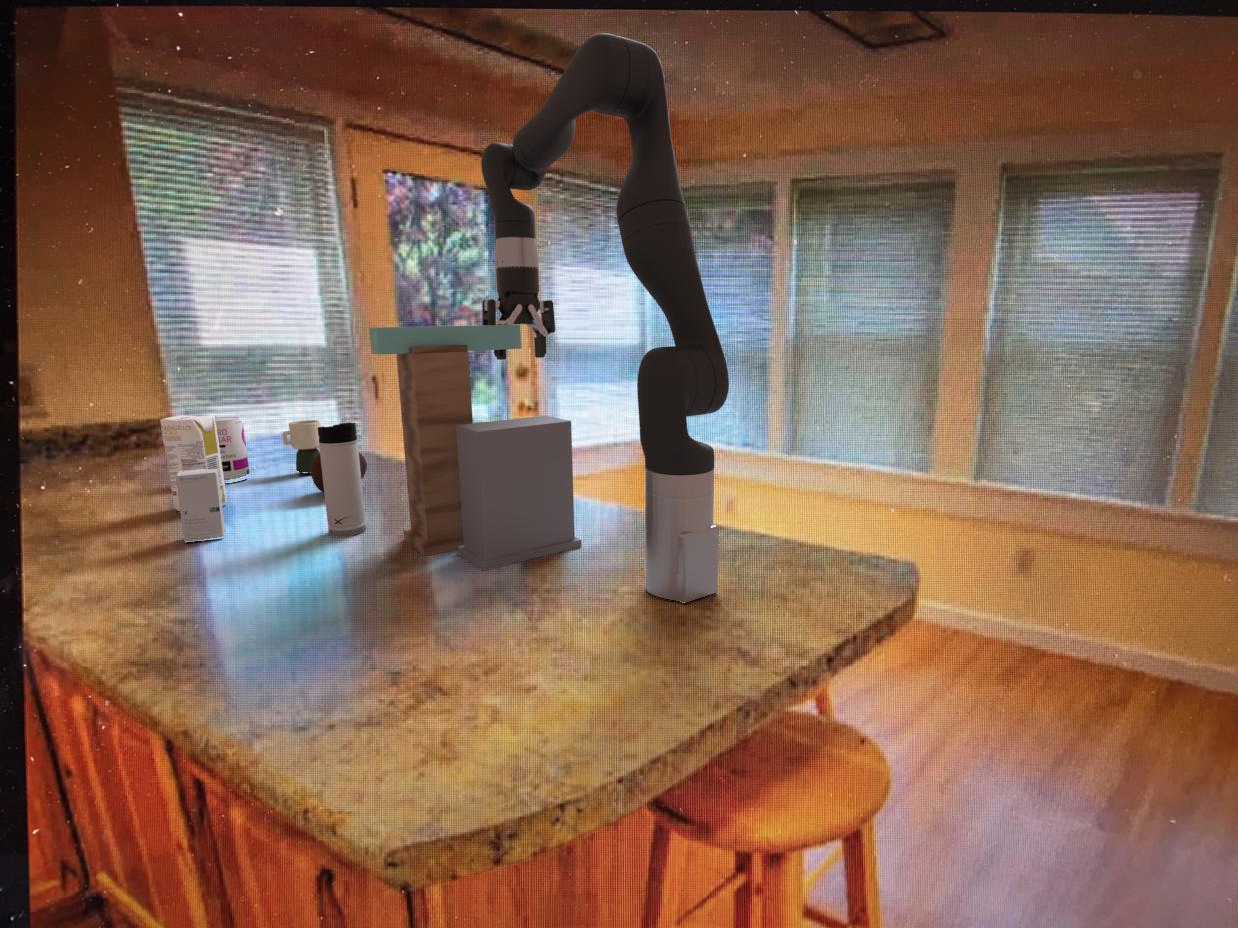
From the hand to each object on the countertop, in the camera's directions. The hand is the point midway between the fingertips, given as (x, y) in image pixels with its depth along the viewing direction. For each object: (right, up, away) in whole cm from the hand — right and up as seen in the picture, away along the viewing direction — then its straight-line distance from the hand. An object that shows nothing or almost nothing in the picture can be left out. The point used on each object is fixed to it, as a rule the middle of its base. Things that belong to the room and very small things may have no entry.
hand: (521, 358), depth 122 cm
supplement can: (-76, -23, +39) cm, 88 cm away
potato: (-44, -26, +26) cm, 57 cm away
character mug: (-60, -22, +46) cm, 78 cm away
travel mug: (-31, -32, -2) cm, 44 cm away
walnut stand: (-12, -32, -8) cm, 35 cm away
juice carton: (-68, -29, +15) cm, 75 cm away
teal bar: (-10, -1, -13) cm, 16 cm away
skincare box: (-55, -33, -4) cm, 64 cm away
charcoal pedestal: (+2, -33, -13) cm, 36 cm away
